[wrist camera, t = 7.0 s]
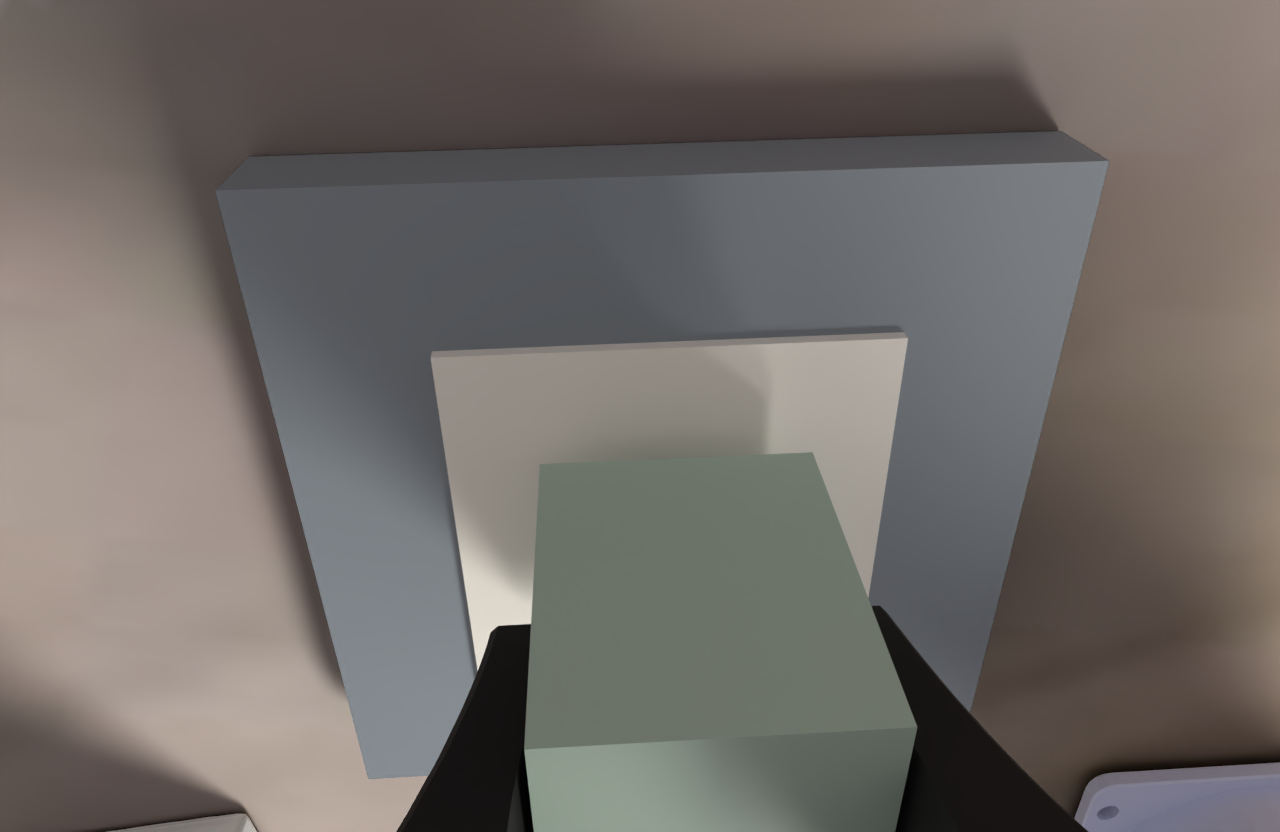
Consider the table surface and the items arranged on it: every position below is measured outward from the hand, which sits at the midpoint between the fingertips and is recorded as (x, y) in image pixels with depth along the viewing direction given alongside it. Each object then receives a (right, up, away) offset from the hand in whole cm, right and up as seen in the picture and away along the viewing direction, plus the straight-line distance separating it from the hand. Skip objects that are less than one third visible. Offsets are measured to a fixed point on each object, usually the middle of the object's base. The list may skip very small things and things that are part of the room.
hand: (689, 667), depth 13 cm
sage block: (0, +1, +2) cm, 2 cm away
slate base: (0, +2, +4) cm, 5 cm away
